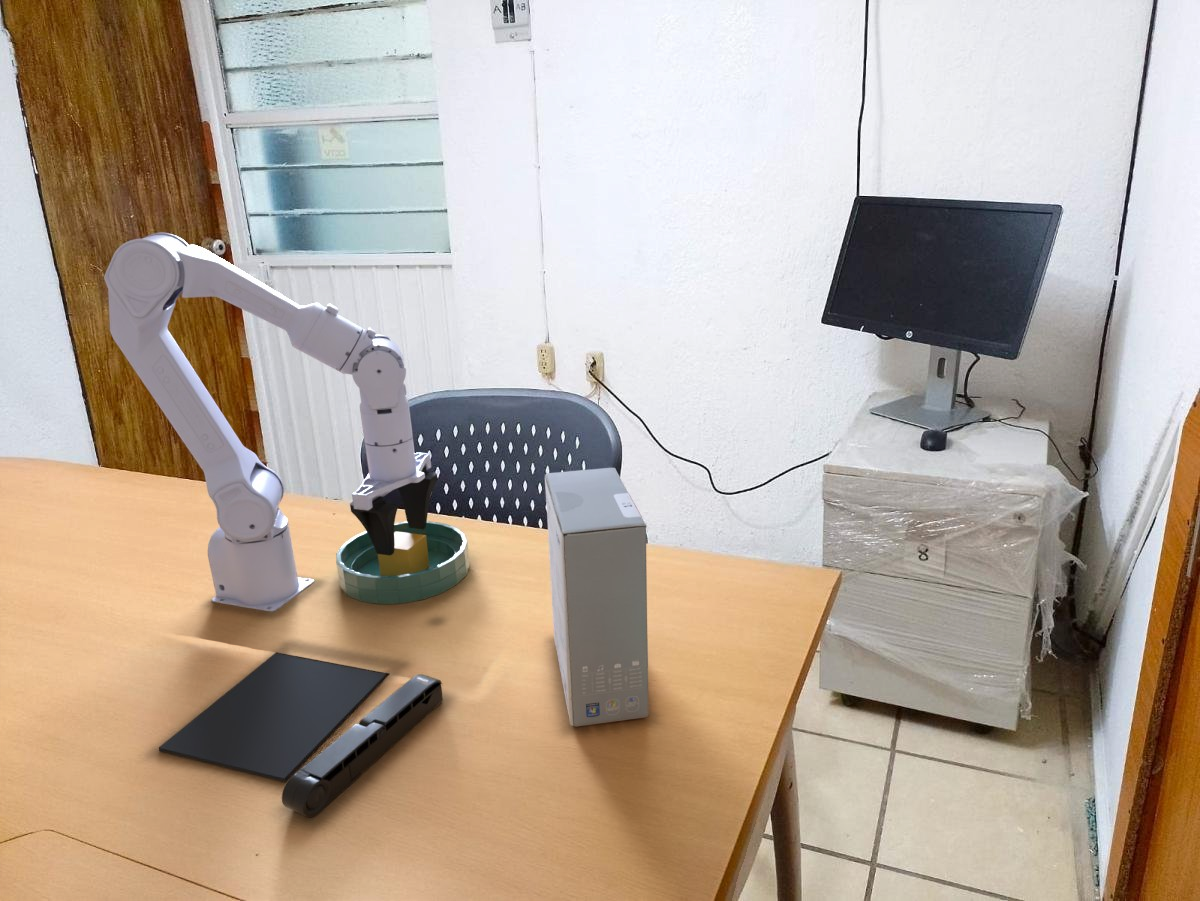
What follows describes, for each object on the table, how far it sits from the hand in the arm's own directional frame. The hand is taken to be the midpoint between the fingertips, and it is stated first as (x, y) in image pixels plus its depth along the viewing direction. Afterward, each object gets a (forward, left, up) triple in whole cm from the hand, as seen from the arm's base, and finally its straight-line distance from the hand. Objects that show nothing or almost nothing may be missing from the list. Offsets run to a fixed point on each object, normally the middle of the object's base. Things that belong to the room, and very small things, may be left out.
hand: (401, 540), depth 105 cm
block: (0, 0, -5) cm, 5 cm away
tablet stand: (+15, -31, -5) cm, 35 cm away
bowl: (0, 0, -5) cm, 5 cm away
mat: (+3, -27, -5) cm, 28 cm away
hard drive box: (+31, -14, -5) cm, 34 cm away
